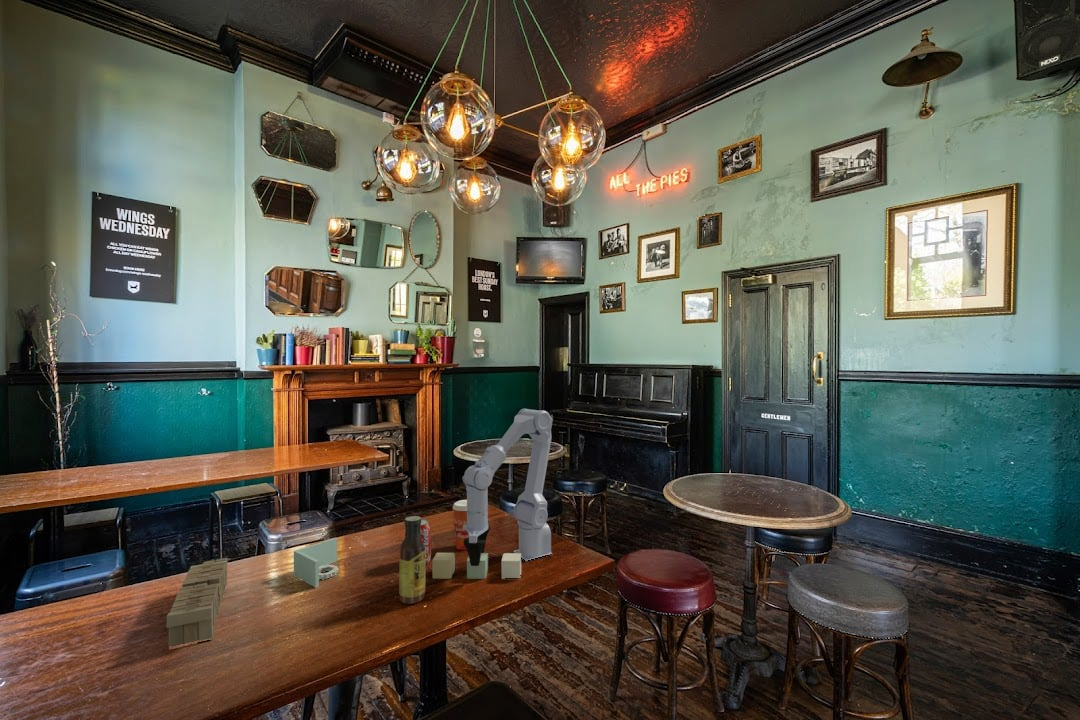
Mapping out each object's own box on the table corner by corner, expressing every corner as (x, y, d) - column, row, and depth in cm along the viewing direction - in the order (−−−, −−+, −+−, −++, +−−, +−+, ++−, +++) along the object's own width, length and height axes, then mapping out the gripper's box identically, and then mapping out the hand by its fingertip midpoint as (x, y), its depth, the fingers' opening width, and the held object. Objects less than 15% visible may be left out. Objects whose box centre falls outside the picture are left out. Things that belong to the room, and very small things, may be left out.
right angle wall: (315, 590, 121) (315, 561, 121) (293, 578, 128) (293, 550, 128) (357, 573, 130) (357, 547, 130) (335, 562, 137) (335, 537, 138)
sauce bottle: (418, 606, 111) (417, 524, 111) (394, 604, 113) (394, 522, 113) (430, 593, 118) (429, 515, 118) (407, 591, 119) (407, 513, 119)
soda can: (434, 558, 139) (434, 518, 139) (426, 568, 132) (425, 526, 132) (411, 557, 140) (411, 517, 140) (402, 567, 133) (402, 525, 133)
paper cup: (448, 550, 145) (448, 505, 145) (459, 541, 152) (459, 498, 152) (471, 553, 143) (470, 507, 143) (481, 543, 150) (481, 500, 150)
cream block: (521, 571, 130) (521, 553, 130) (520, 579, 125) (519, 561, 125) (503, 571, 130) (503, 553, 130) (501, 579, 125) (501, 560, 125)
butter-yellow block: (454, 570, 131) (454, 552, 131) (450, 578, 126) (450, 560, 126) (437, 570, 131) (437, 552, 131) (432, 578, 126) (432, 560, 126)
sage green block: (487, 570, 131) (487, 553, 131) (485, 579, 126) (485, 560, 126) (470, 570, 131) (470, 553, 131) (467, 579, 126) (466, 560, 126)
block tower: (191, 597, 119) (164, 656, 93) (191, 563, 119) (164, 613, 93) (228, 589, 123) (212, 644, 97) (228, 557, 123) (211, 603, 97)
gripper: (467, 502, 136) (467, 548, 135) (457, 518, 121) (457, 570, 121) (491, 502, 135) (491, 549, 135) (484, 518, 121) (484, 571, 121)
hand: (477, 559), depth 128 cm, fingers open, 7 cm apart
